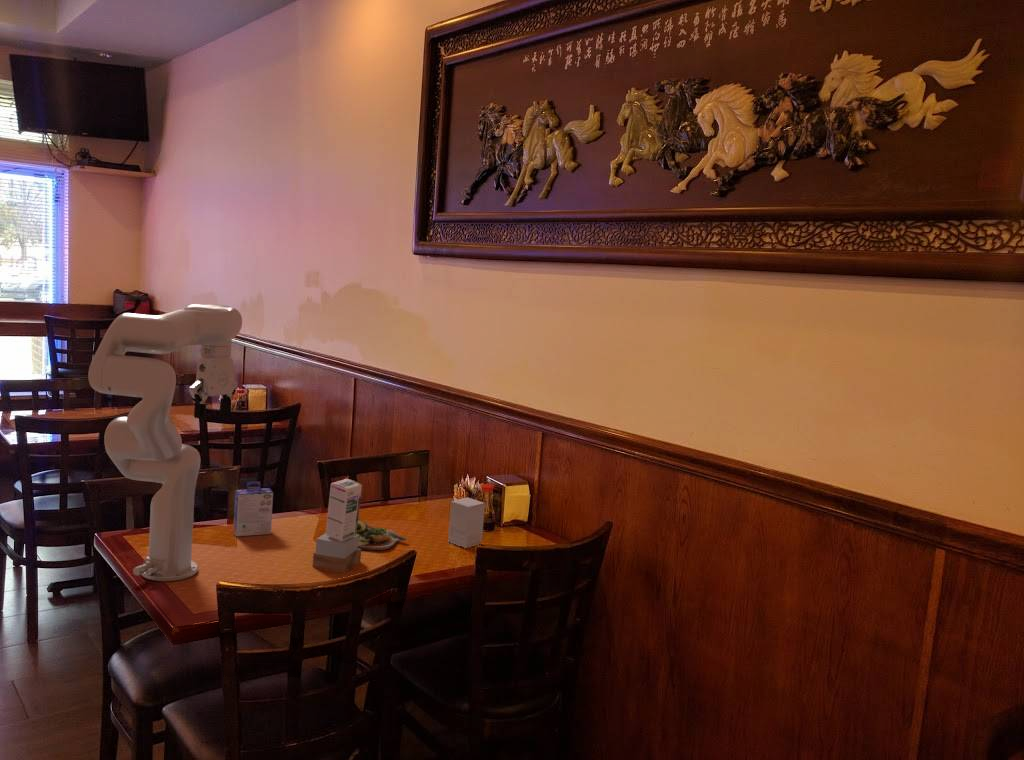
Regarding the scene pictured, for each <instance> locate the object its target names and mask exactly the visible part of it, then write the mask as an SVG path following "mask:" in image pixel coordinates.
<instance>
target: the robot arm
mask: <svg viewBox="0 0 1024 760" xmlns="http://www.w3.org/2000/svg"><path fill="white" fill-rule="evenodd" d="M242 327H243V317H242V313H241V312H240V311H239V310H238V309H236V308H235V307H231V306H229V305H225V304H213V303H212V304H209V303H208V304H202V303H201V304H199V303H194V304H193V303H192V304H189V305H188V306H186V307H185V308H184V309H176V310H174V311H170V312H166V313H162V314H158V315H156V314H155V315H153V314H142V313H132V312H123V313H121V314H119V315H118V316H117V317H116V318H115V319H114V320H113V321H112V323H111V324H110V325H109V327H108V329H107V331H106V332H105V333H104V336H103V337H102V339H101V342H100V343H99V345H98V348H97V350H96V352H95V353H94V356H93V357H92V360H91V361H90V362H91V363H90V365H89V367H88V377H87V378H88V382H89V385H90V387H91V388H92V389H93V390H94V391H96V392H98V393H100V394H105V395H112V396H113V395H114V396H122V397H123V396H124V397H132V398H133V397H134V398H142V399H141V400H140V401H139V402H138V403H136V404H135V405H134V406H133V407H132V408H131V410H130V411H129V412H128V414H127V415H126V416H125V415H124V416H118V417H115V418H114V419H113V420H111V421H110V422H109V423H108V425H107V427H106V429H105V432H104V440H103V443H104V450H105V451H106V454H107V455H108V457H109V459H110V460H111V461H112V463H113V464H114V465H115V466H116V468H117V469H118V470H119V472H120V473H121V475H123V476H124V477H125V478H127V479H129V480H133V481H140V482H150V483H151V482H152V483H159V484H161V485H162V486H161V488H160V489H158V491H157V492H156V493H155V494H154V495H153V497H152V498H151V502H150V508H149V509H150V513H149V514H150V515H149V516H150V517H149V540H148V556H147V557H145V562H143V563H142V564H141V565H138V566H136V567H133V570H132V573H133V574H134V575H135V576H139V575H141V576H142V577H143V578H145V579H147V580H151V581H154V582H155V581H156V582H175V581H180V580H185V579H188V578H190V577H193V576H194V575H195V574H196V573H197V572H198V569H199V565H198V564H197V563H196V562H195V561H193V560H192V552H193V531H194V514H195V513H194V509H195V494H196V488H197V487H196V486H197V481H198V480H197V479H198V476H199V472H200V467H201V455H200V452H199V451H198V449H197V448H195V447H194V446H191V445H189V444H186V443H185V444H184V443H183V441H182V436H181V434H180V431H179V430H178V427H177V426H176V425H175V423H174V421H173V419H172V417H171V415H170V410H171V407H172V403H173V400H174V395H175V391H176V384H177V376H176V371H175V369H174V368H173V366H172V365H171V364H169V363H168V362H166V361H164V360H162V359H159V358H153V357H143V356H135V355H134V356H133V355H126V353H127V352H133V353H143V354H154V355H166V354H167V355H168V354H171V353H173V352H176V351H178V350H181V349H183V348H186V347H188V346H198V345H200V349H199V350H200V351H199V352H200V354H199V355H200V356H199V358H198V362H197V366H196V367H197V369H196V376H195V377H196V378H195V382H194V383H193V384H192V385H191V386H189V387H188V391H189V395H190V398H191V400H192V403H194V407H193V409H194V411H193V412H194V413H193V417H194V418H195V419H199V420H200V419H201V420H205V419H206V416H207V404H206V403H205V402H206V401H207V399H208V397H218V396H221V398H220V400H219V413H220V414H225V415H231V414H232V400H233V399H234V394H235V393H236V389H237V387H238V381H236V380H235V368H234V367H235V365H234V359H233V356H232V343H233V342H232V341H233V339H234V338H236V337H237V335H239V333H240V332H241V330H242ZM201 396H202V397H201Z"/></svg>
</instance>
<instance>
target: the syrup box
mask: <svg viewBox="0 0 1024 760" xmlns="http://www.w3.org/2000/svg"><path fill="white" fill-rule="evenodd" d="M329 489H330V490H329V498H328V505H327V506H328V507H327V516H326V517H327V518H326V526H325V533H326V535H327V536H329V537H331V538H333V539H336V540H338V541H341V542H342V541H344V540H347V539H349V538H352V537H355V536H356V534H357V525H358V519H359V513H360V506H361V496H362V489H363V485H362V483H359V482H358V481H355V480H352V479H349V478H344V479H342V480H337V481H335V482H331V483H330V488H329Z"/></svg>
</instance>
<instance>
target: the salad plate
mask: <svg viewBox="0 0 1024 760" xmlns="http://www.w3.org/2000/svg"><path fill="white" fill-rule="evenodd" d="M357 534H358V535H359V536H358V548H359V549H361V550H364V551H365V550H366V551H367V550H368V551H384V550H388V549H390V547H391V548H392V547H393V546H394V545H395V544H396V543H397V542H400V541H407V538H406V537H404V536H400V535H398V534H397V532H395V531H393V530H391V529H387V528H382V527H381V526H378V527H372V526H370V525H368V524H367V522H366V521H365V520H363V519H361V518H358V525H357ZM373 543H374V544H373ZM375 543H376V544H375ZM381 544H383V546H382V545H381ZM370 545H376V546H370Z"/></svg>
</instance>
